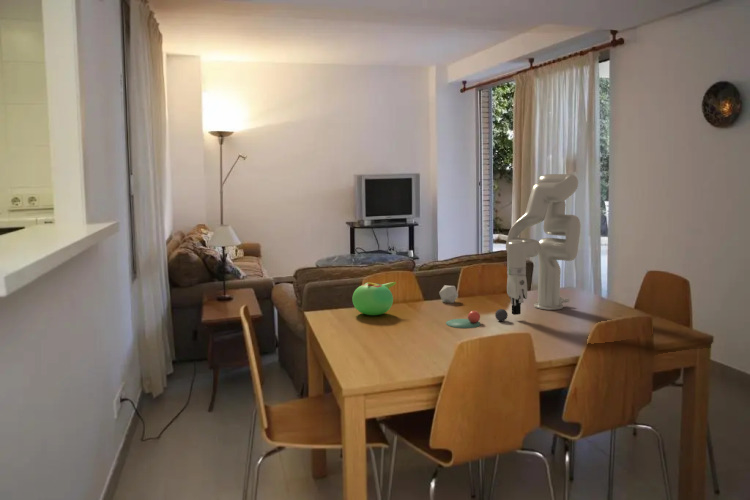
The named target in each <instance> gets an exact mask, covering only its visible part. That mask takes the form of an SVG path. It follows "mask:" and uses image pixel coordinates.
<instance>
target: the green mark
mask: <svg viewBox="0 0 750 500" xmlns="http://www.w3.org/2000/svg"><path fill="white" fill-rule="evenodd" d="M445 324H446V325H447V326H448V327H451V328H455V329H456V328H457V329H474V328H478V327H480V326H481V325H482V324H481V322H480V321H478V322H477V323H471V322H470V321H469V320H468V318H453V319H449V320H447V321H446V322H445Z"/></svg>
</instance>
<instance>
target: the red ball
mask: <svg viewBox="0 0 750 500" xmlns="http://www.w3.org/2000/svg"><path fill="white" fill-rule="evenodd" d="M467 319H468V320H469V321H470V322H471V323H477V322H480V319H481V315H480V313H479V312H478V310H471V311H470V312H469V313H468V314H467Z"/></svg>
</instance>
